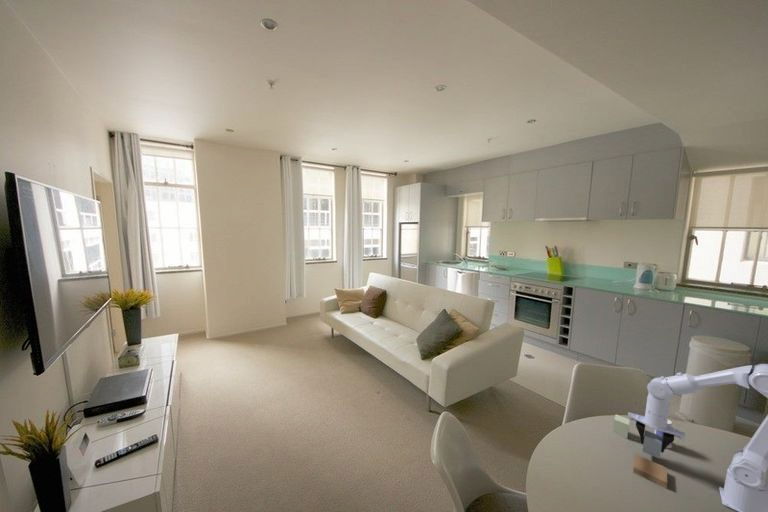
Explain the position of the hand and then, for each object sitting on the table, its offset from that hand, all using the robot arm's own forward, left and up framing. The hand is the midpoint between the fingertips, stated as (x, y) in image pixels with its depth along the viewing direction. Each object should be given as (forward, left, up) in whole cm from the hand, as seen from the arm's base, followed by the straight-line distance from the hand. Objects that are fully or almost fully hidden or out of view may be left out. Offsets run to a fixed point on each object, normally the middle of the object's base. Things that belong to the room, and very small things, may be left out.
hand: (651, 446), depth 100 cm
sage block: (+9, -8, -4) cm, 13 cm away
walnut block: (0, +9, -5) cm, 10 cm away
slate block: (0, 0, -2) cm, 2 cm away
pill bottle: (-3, -13, -5) cm, 14 cm away
